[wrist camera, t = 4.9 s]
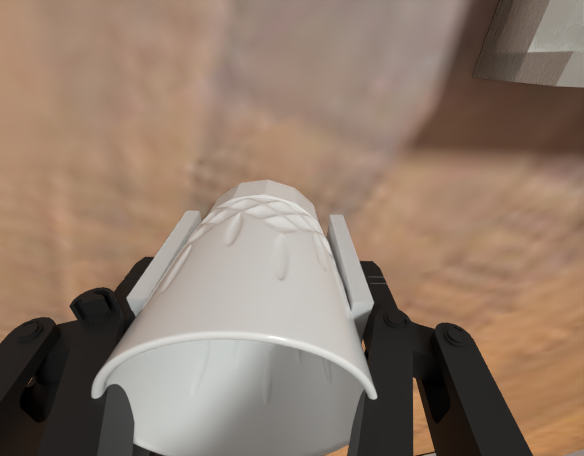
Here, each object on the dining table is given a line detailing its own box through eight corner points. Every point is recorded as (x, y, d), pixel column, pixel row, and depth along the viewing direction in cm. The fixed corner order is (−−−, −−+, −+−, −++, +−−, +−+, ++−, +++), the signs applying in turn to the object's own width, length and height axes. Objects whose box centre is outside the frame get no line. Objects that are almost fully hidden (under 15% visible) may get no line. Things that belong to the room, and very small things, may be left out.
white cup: (351, 192, 15) (438, 370, 6) (304, 288, 19) (317, 475, 10) (211, 148, 13) (72, 300, 5) (192, 262, 17) (99, 455, 9)
